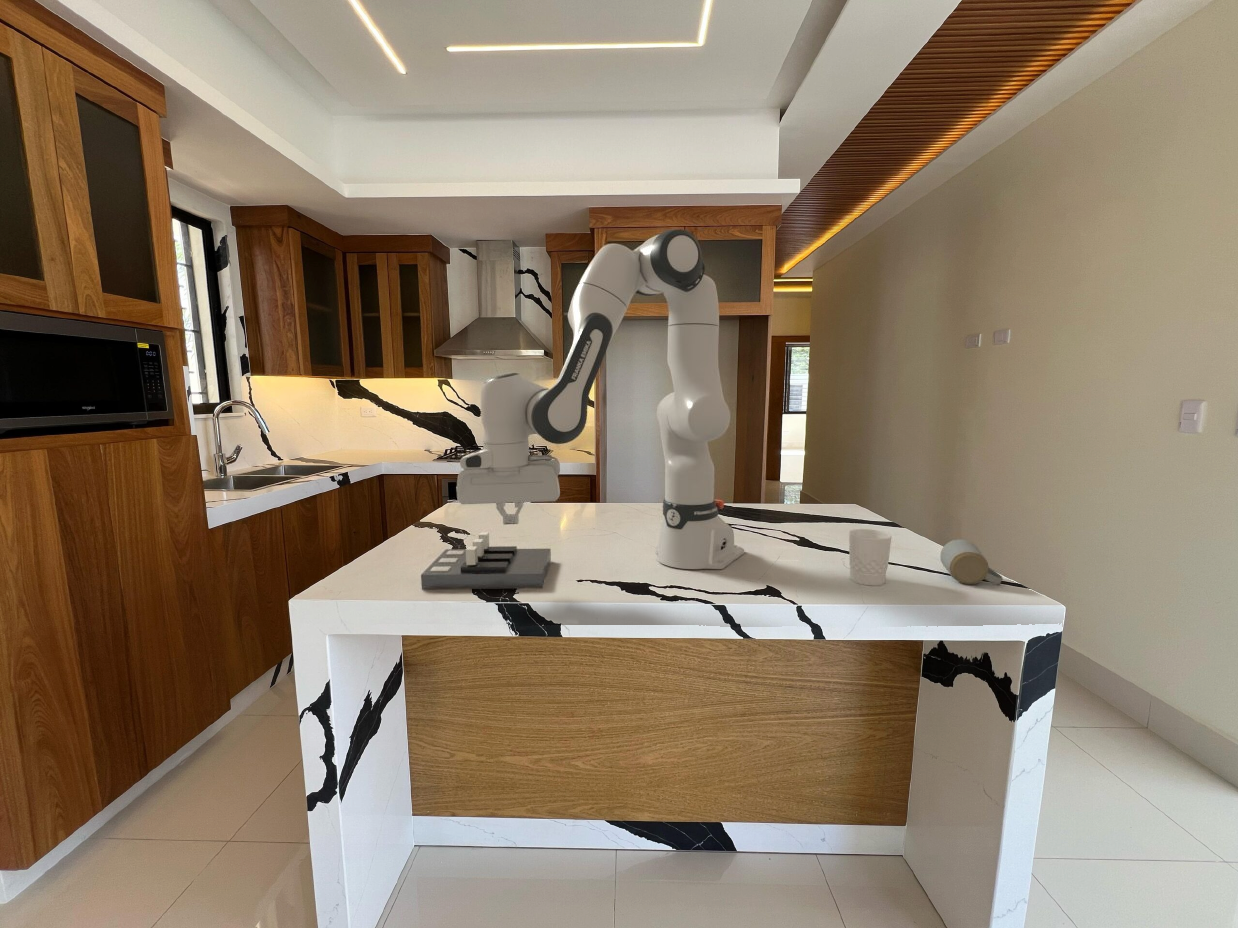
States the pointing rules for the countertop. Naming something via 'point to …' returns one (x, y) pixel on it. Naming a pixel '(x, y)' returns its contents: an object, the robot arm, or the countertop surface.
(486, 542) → the white short rectangular block
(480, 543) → the block
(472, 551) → the block
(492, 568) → the breaker panel
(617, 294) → the robot arm
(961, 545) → the ceramic mug
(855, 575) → the white cup
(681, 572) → the countertop surface
